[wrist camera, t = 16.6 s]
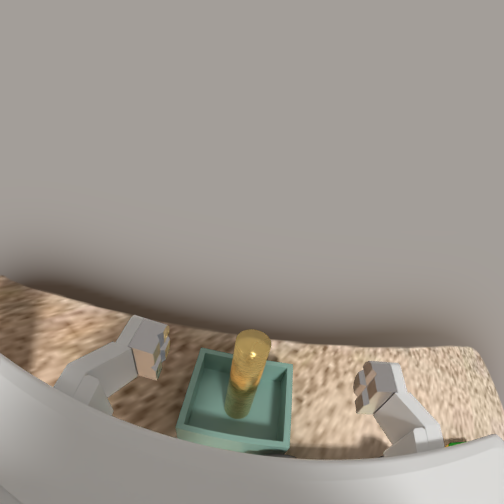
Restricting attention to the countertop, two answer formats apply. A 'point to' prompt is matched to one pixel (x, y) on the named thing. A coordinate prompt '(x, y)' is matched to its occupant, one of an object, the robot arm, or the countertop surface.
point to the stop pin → (246, 371)
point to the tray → (229, 429)
